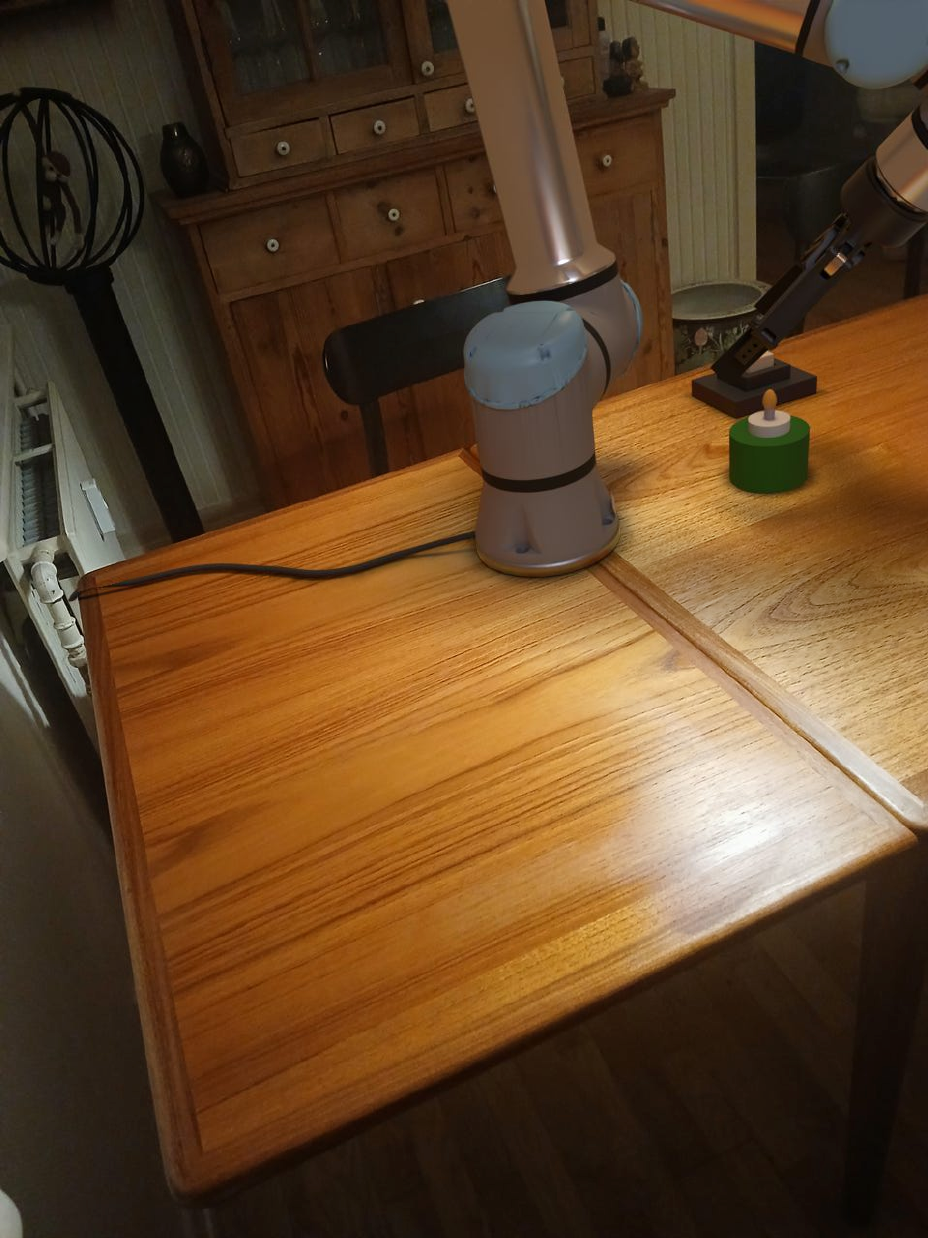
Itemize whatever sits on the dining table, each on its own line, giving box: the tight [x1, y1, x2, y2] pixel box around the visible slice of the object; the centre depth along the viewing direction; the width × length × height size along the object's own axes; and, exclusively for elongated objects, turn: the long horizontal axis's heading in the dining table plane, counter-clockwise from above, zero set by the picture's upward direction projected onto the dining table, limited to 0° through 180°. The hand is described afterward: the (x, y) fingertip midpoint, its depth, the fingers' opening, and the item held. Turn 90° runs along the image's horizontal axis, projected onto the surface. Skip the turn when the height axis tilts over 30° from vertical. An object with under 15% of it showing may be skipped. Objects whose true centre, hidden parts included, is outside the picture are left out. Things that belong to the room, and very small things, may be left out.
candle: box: [728, 389, 811, 494], centre depth 102 cm, size 8×8×10 cm
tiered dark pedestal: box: [691, 357, 818, 419], centre depth 122 cm, size 12×10×4 cm
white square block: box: [745, 350, 775, 373], centre depth 121 cm, size 4×4×2 cm
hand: (743, 343), depth 99 cm, fingers open, 13 cm apart
